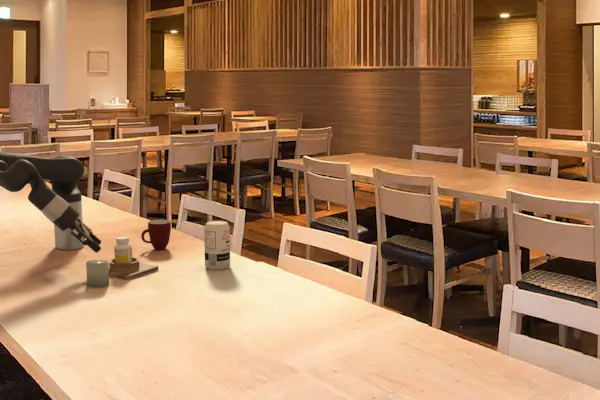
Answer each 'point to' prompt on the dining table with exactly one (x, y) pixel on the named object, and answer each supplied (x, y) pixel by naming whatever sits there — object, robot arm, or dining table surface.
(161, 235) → the mug
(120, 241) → the supplement bottle
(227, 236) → the supplement can
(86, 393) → the dining table surface
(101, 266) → the sage green domed cylinder
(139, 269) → the caddy
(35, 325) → the dining table surface
